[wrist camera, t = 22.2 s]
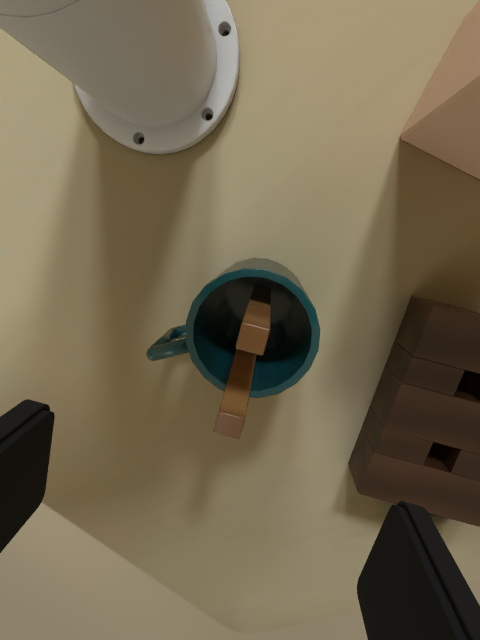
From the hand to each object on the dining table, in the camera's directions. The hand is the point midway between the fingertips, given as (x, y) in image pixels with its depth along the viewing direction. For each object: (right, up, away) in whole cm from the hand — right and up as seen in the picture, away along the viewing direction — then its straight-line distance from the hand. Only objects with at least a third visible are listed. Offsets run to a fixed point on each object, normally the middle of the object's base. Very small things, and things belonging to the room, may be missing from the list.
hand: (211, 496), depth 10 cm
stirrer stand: (+18, -2, +22) cm, 28 cm away
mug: (+1, +5, +21) cm, 22 cm away
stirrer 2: (+3, +7, +20) cm, 21 cm away
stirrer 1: (+2, +4, +21) cm, 21 cm away
